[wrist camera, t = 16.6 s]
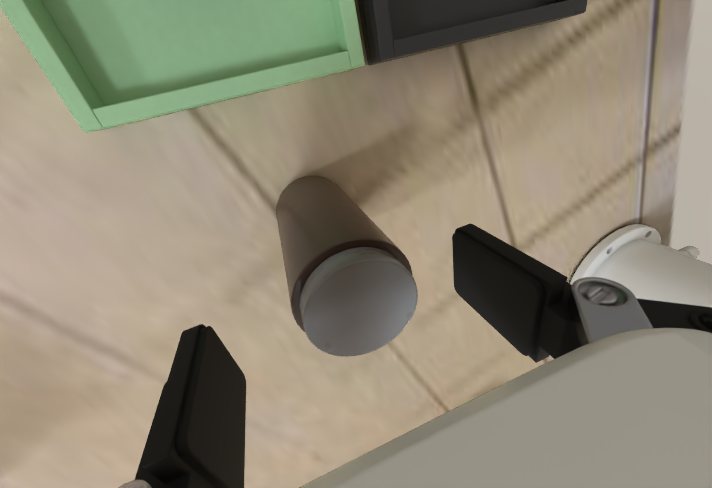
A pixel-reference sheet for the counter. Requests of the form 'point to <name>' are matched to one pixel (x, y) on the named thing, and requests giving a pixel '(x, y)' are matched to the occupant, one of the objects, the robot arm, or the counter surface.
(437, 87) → the counter surface
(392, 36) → the dark tray
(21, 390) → the counter surface
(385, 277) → the pepper shaker
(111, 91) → the pale tray
